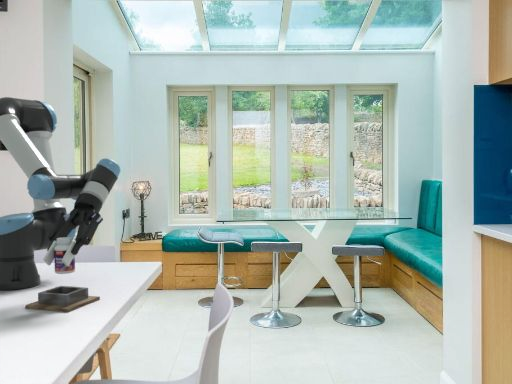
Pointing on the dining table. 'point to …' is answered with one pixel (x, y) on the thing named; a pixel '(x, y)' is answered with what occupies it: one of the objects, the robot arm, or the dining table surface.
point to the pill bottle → (59, 254)
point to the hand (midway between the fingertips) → (55, 262)
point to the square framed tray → (62, 299)
